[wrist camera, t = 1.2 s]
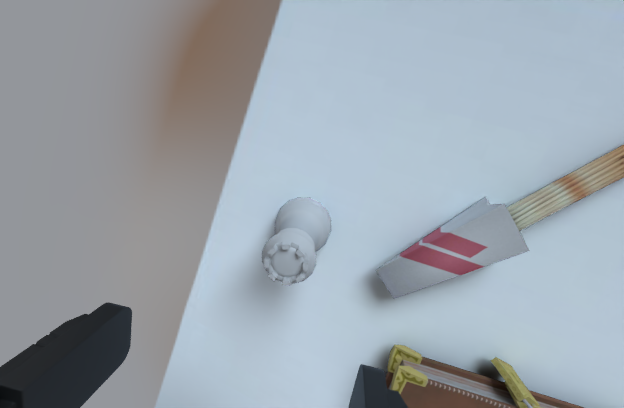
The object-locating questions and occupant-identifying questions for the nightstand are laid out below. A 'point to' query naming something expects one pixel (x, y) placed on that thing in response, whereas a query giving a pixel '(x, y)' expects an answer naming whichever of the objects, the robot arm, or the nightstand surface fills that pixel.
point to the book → (459, 385)
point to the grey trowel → (491, 230)
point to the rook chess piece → (296, 240)
